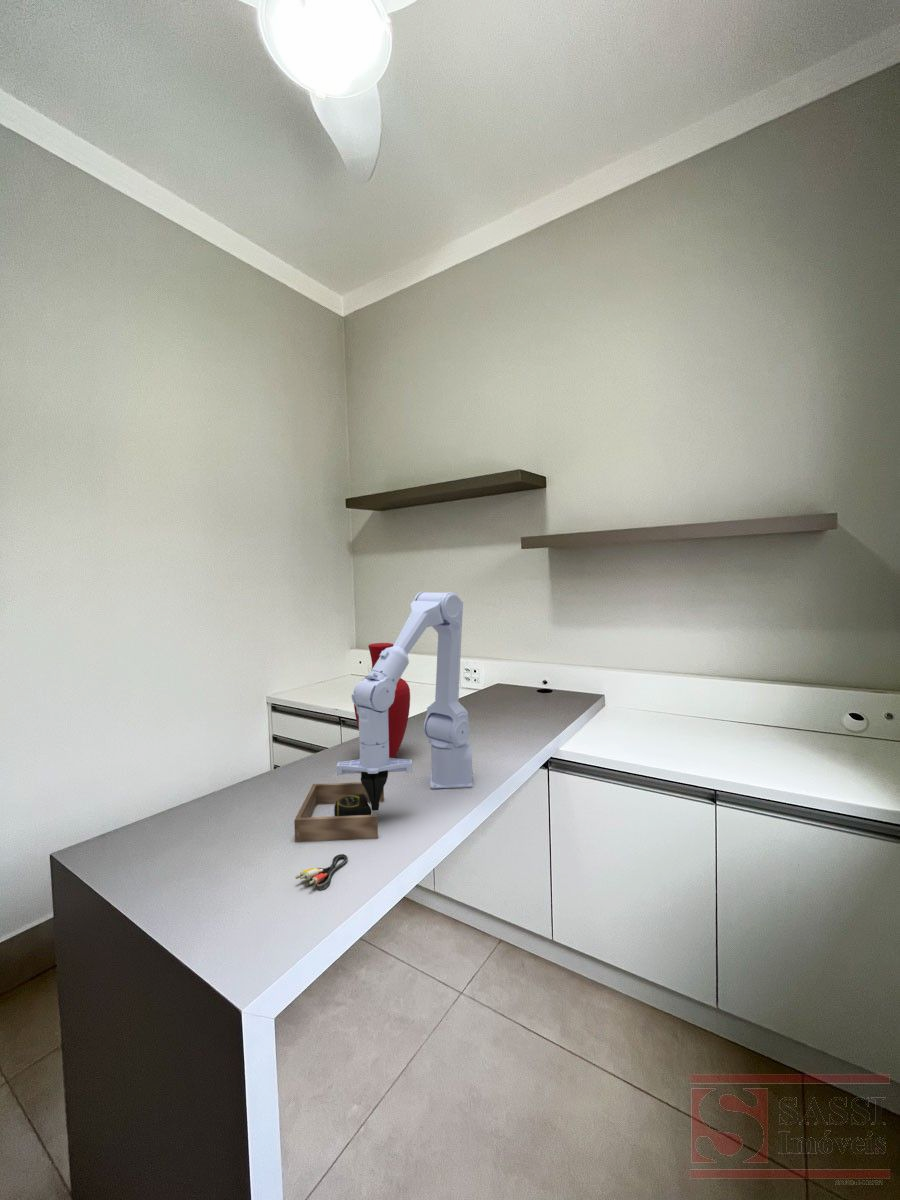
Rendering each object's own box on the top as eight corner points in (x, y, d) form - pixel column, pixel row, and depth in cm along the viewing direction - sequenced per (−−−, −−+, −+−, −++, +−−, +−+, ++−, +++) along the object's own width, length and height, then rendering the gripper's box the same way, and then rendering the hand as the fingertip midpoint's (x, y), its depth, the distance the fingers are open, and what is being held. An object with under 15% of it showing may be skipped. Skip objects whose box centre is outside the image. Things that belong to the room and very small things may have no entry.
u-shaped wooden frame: (383, 799, 106) (383, 781, 106) (377, 838, 91) (377, 816, 90) (313, 802, 105) (313, 784, 105) (295, 841, 90) (294, 820, 89)
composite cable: (340, 857, 85) (340, 843, 85) (361, 866, 82) (360, 851, 82) (293, 888, 77) (293, 872, 77) (314, 899, 74) (314, 882, 74)
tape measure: (372, 825, 95) (371, 805, 95) (335, 830, 93) (335, 811, 93) (367, 809, 102) (367, 791, 102) (333, 814, 100) (332, 795, 100)
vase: (422, 757, 131) (420, 643, 129) (376, 772, 121) (373, 650, 119) (389, 743, 142) (387, 639, 140) (344, 757, 131) (341, 644, 130)
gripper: (333, 748, 93) (335, 819, 94) (410, 746, 94) (412, 816, 95) (339, 736, 100) (340, 802, 101) (411, 734, 101) (412, 799, 102)
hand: (375, 808), depth 98 cm, fingers closed
